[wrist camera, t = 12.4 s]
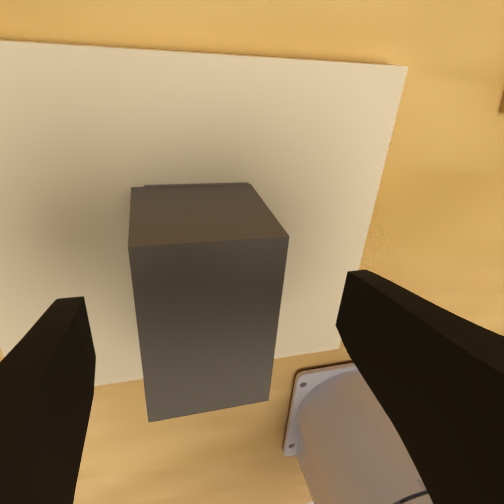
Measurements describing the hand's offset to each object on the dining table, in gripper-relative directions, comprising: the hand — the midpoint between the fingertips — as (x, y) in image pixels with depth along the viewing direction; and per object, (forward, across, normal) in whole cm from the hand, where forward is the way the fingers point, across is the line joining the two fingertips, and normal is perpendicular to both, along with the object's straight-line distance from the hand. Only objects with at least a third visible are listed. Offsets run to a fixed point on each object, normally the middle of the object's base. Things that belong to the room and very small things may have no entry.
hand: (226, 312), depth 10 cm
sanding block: (+7, 0, +3) cm, 8 cm away
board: (+9, 0, +2) cm, 9 cm away
